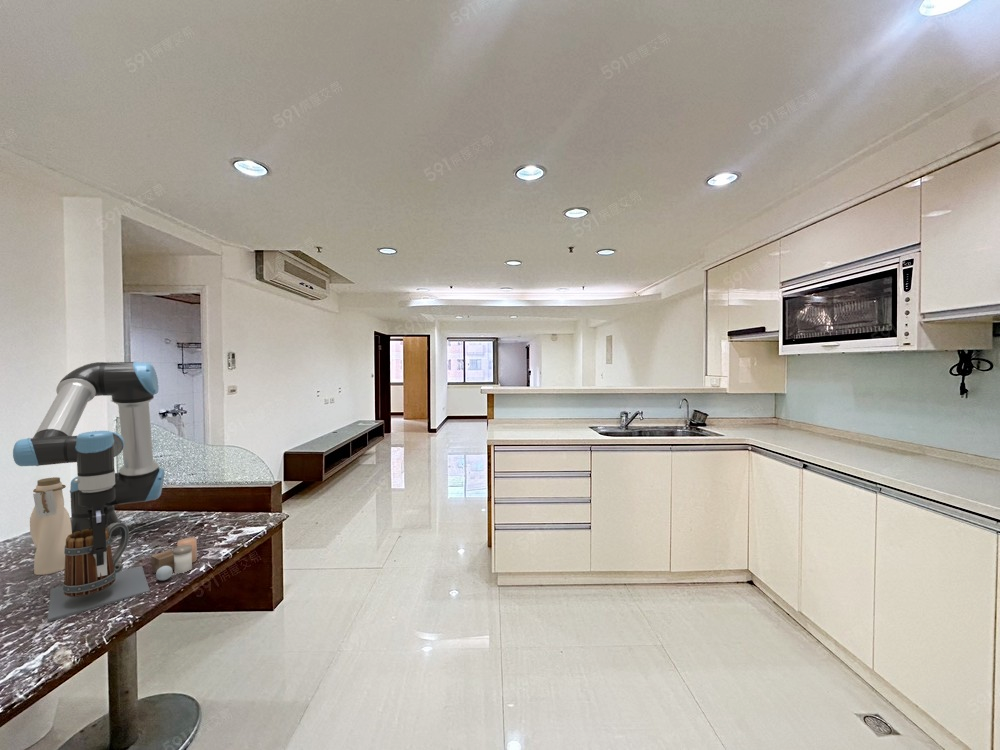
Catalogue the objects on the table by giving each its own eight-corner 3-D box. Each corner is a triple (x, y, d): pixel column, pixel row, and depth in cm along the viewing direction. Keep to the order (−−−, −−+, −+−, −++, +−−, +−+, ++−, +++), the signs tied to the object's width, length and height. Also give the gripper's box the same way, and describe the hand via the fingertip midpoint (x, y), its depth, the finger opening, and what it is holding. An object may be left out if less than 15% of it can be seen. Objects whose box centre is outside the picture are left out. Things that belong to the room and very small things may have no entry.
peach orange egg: (176, 561, 143) (176, 540, 142) (195, 557, 146) (194, 536, 146) (179, 567, 139) (178, 545, 139) (198, 562, 142) (197, 540, 142)
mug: (84, 600, 114) (81, 542, 113) (51, 596, 116) (48, 539, 115) (143, 570, 129) (141, 519, 128) (114, 567, 131) (111, 517, 130)
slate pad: (50, 590, 125) (50, 588, 125) (141, 567, 139) (141, 565, 138) (47, 621, 110) (47, 619, 110) (149, 592, 124) (149, 590, 124)
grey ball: (155, 579, 131) (154, 566, 131) (171, 574, 134) (171, 561, 134) (156, 584, 128) (156, 571, 128) (173, 579, 131) (173, 566, 131)
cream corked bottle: (74, 570, 137) (71, 480, 136) (32, 580, 130) (28, 486, 129) (71, 559, 144) (68, 473, 143) (31, 569, 137) (27, 479, 136)
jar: (172, 570, 137) (171, 548, 137) (191, 565, 140) (190, 543, 140) (174, 576, 133) (174, 553, 133) (194, 570, 137) (193, 548, 136)
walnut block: (151, 572, 136) (151, 555, 136) (170, 565, 140) (170, 549, 140) (159, 576, 134) (159, 559, 133) (178, 569, 138) (177, 553, 138)
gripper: (77, 482, 126) (80, 560, 127) (78, 501, 111) (81, 589, 112) (112, 477, 131) (115, 552, 132) (117, 494, 116) (120, 579, 117)
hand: (99, 569), depth 122 cm, fingers closed on mug, 9 cm apart
